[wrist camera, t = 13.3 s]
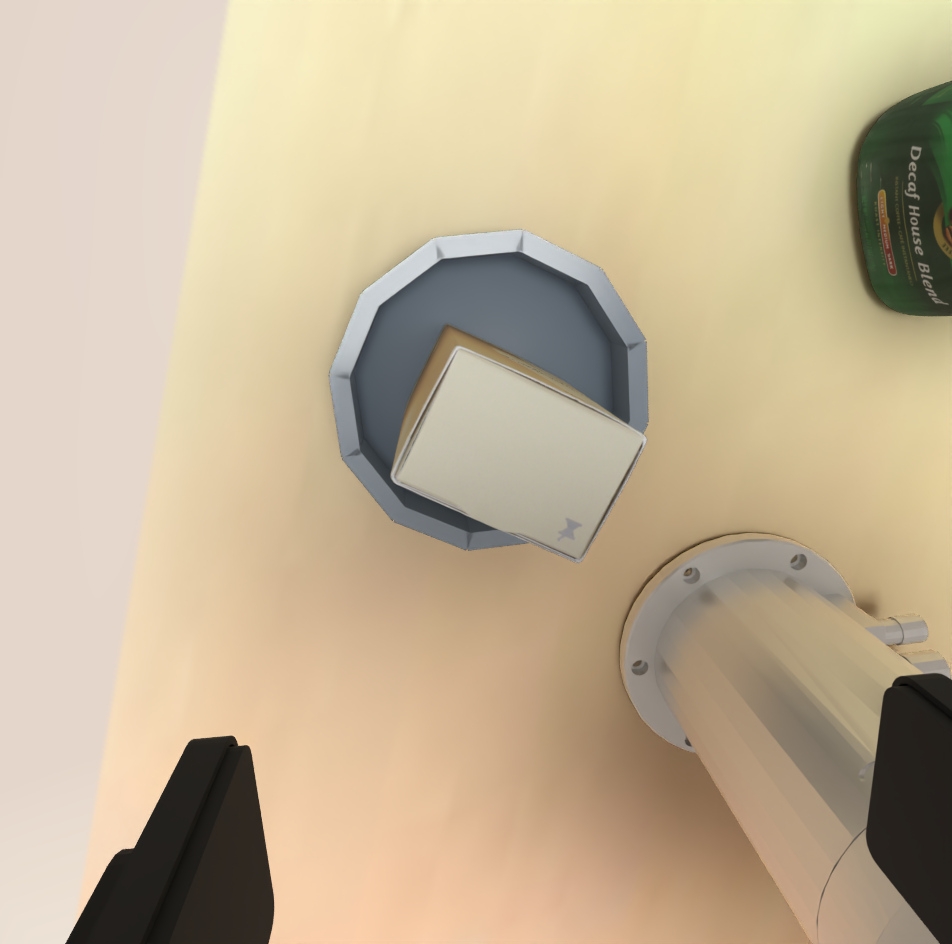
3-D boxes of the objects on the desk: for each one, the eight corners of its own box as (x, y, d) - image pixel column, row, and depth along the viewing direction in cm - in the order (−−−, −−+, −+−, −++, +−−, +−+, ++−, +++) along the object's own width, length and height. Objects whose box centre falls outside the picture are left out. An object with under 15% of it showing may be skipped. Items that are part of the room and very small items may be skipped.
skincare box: (567, 380, 30) (664, 439, 19) (523, 465, 31) (590, 572, 20) (438, 316, 29) (455, 337, 17) (396, 406, 30) (386, 484, 18)
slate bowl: (617, 225, 30) (643, 217, 26) (627, 503, 33) (651, 527, 30) (321, 253, 29) (309, 249, 26) (363, 535, 33) (357, 564, 29)
